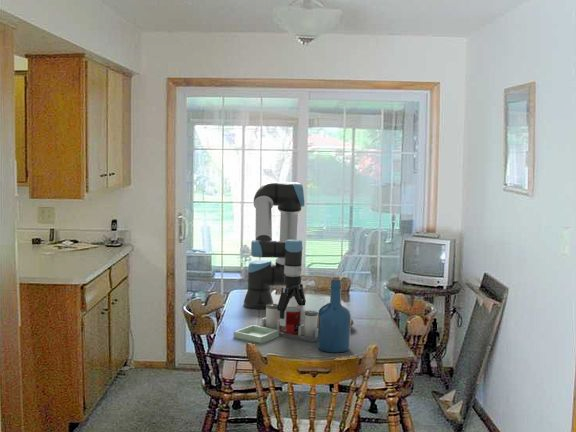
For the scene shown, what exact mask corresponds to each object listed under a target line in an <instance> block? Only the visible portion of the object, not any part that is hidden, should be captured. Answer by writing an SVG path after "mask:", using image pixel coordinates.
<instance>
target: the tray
mask: <svg viewBox="0 0 576 432" xmlns="http://www.w3.org/2000/svg"><path fill="white" fill-rule="evenodd" d="M232 335H233V339H235V340H241V341H244V342H250V343H254V344H259V345H262V344H264V343H267V342H269V341H271V340H274V339H277V338H278V337H280V336H279V330H275V329H270V328H265V327H261V326H259V325H254V324H250V325H248V326H246V327H242V328H240V329H238V330H234V331H233V334H232Z"/></svg>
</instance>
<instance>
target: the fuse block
mask: <svg viewBox="0 0 576 432" xmlns="http://www.w3.org/2000/svg"><path fill="white" fill-rule="evenodd" d="M258 326H261V327H265V328H266V316H265V317H263V318H261V324H260V325H259V324H258ZM277 330H279V337H280V336H281V337H285V338H289V339H295V340H298V341H303V342H307V343H308V342H309V343H318V328H317V329H315V338H314V339H313V338H308V337H304V324H300V326H299V331H298V335H293V334H288V333H283V332H282V326H280V320H278V322H277Z"/></svg>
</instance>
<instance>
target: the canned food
mask: <svg viewBox="0 0 576 432" xmlns="http://www.w3.org/2000/svg"><path fill="white" fill-rule="evenodd" d="M285 311H286V326H282V331H281V332H283V333H288V334H293V335H298V331H299V326H300V325H301V320H300V312H301V310H300V308H297V306H287V308H286V310H285Z"/></svg>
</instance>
